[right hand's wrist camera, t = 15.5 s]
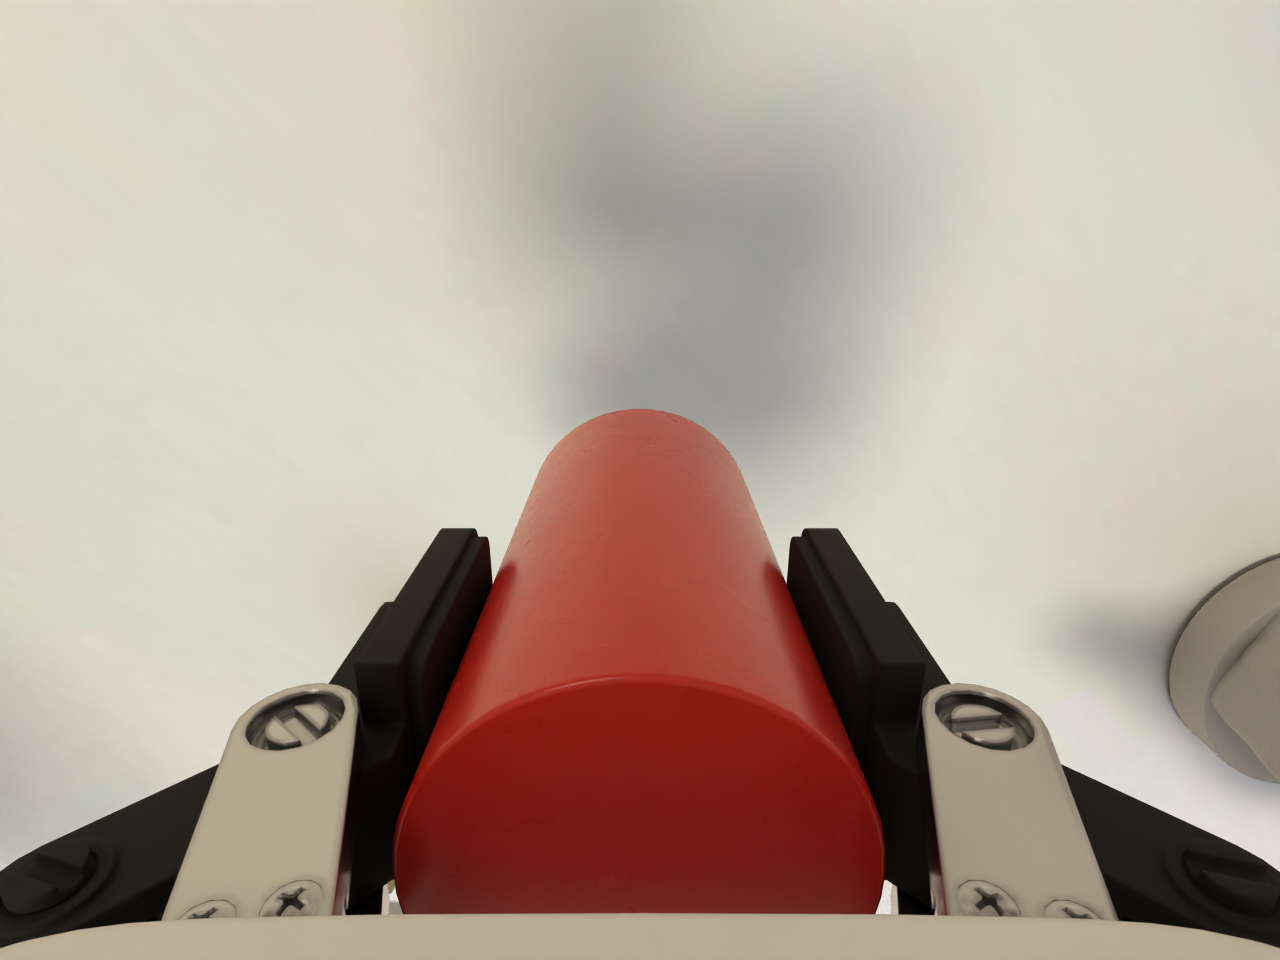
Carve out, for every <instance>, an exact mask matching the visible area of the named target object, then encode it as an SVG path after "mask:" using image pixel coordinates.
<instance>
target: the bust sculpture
mask: <svg viewBox="0 0 1280 960" xmlns="http://www.w3.org/2000/svg"><path fill="white" fill-rule="evenodd" d="M1169 688H1170V695H1171V699H1172V702H1173V705H1174V708H1175V710H1176V712H1177V714H1178V715H1179V717H1180V719H1181V720H1182V721H1183V723H1184V724H1185V725H1186V726H1187V727H1188V728H1189V729H1190V730H1191V731H1192V732H1193V733H1194V734H1195V735H1197V736H1198V737H1199V738H1200V739H1201V740H1202V741H1203V742H1204V743H1205V744H1206V745H1208V746H1209V747H1210V748H1211V749H1212V750H1213V751H1214V752H1215V753H1216V754H1217V755H1218V756H1220V757H1221V758H1222V759H1223V760H1224V761H1225V762H1226V763H1227V764H1229V765H1230V766H1231V767H1233V768H1234V769H1236V770H1237V771H1239V772H1241V773H1243V774H1245V775H1247V776H1250V777H1252V778H1255V779H1258V780H1262V781H1266V782H1271V783H1278V784H1280V558H1278V559H1275V560H1272V561H1269V562H1267V563H1264V564H1262V565H1260V566H1258V567H1256V568H1254V569H1252V570H1250V571H1248V572H1246V573H1244V574H1243V575H1241V576H1239V577H1238V578H1236V579H1235V580H1233V581H1232V582H1230V583H1229V584H1227V585H1226V586H1225V587H1223V588H1222V589H1221V590H1220V591H1218V592H1217V593H1216V594H1215V595H1214V596H1213V597H1212V598H1211V599H1209V600H1208V601H1207V602H1206V603H1205V604H1204V605H1203V607H1202V608H1201V609H1200V610H1199V611H1198V612H1197V613H1196V615H1195V616H1194V617H1193V618H1192V620H1191V621H1190V623H1189V624H1188V625H1187V627H1186V629H1185V630H1184V632H1183V634H1182V636H1181V637H1180V639H1179V642H1178V644H1177V646H1176V649H1175V651H1174V654H1173V657H1172V661H1171V666H1170V673H1169Z"/></svg>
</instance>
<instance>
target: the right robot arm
mask: <svg viewBox="0 0 1280 960" xmlns="http://www.w3.org/2000/svg"><path fill="white" fill-rule="evenodd" d="M492 585H493V583H492V571H491V558H490V546H489V540H488V538H487V537H478V534H477V531H476V529H474V528H442V529H441V530H440V531H439V533H438V534H437V536H436V537H435V539H434V540H433V542H432V544H431V545H430V547H429V548H428V550H427V551H426V553H425V554H424V556H423V557H422V559H421V561H420V562H419V564H418V565H417V567H416V568H415V570H414V571H413V573H412V574H411V576H410V577H409V579H408V581H407V582H406V584H405V585H404V587H403V588H402V590H401V591H400V593H399V594H398V596H397V597H396V599H395V601H394V602H385V603H384V604H383V605H382V606H381V607H380V608H379V610H378V611H377V613H376V614H375V616H374V617H373V619H372V620H371V622H370V623H369V625H368V626H367V628H366V629H365V631H364V632H363V634H362V635H361V637H360V638H359V640H358V641H357V642H356V644H355V645H354V647H353V648H352V650H351V651H350V653H349V654H348V656H347V657H346V659H345V660H344V662H343V663H342V665H341V666H340V668H339V669H338V671H337V672H336V674H335V675H334V677H333V678H332V680H331V681H330V682H329V684H325V683H319V684H306V685H301V686H297V687H293V688H289V689H285V690H283V691H280V692H278V693H275V694H273V695H270V696H268V697H266V698H265V699H263V700H261V701H260V702H258V703H256V704H255V705H253V706H252V707H251V708H249V709H248V710H247V711H246V712H245V713H244V714H243V715H242V716H241V717H240V718H239V719H238V721H237V722H236V724H235V726H234V727H233V729H232V731H231V734H230V736H229V739H228V742H227V744H226V747H225V750H224V753H223V755H222V758H221V761H220V763H219V764H218V765H216V766H214V767H211V768H209V769H207V770H205V771H203V772H201V773H198V774H196V775H194V776H192V777H190V778H188V779H185V780H183V781H181V782H179V783H177V784H175V785H172V786H170V787H168V788H166V789H164V790H162V791H160V792H157V793H155V794H153V795H151V796H149V797H147V798H144V799H142V800H140V801H138V802H136V803H134V804H131V805H129V806H127V807H125V808H123V809H121V810H118V811H116V812H114V813H112V814H110V815H108V816H106V817H103V818H101V819H99V820H97V821H95V822H93V823H90V824H88V825H86V826H84V827H82V828H80V829H77V830H75V831H73V832H71V833H69V834H67V835H64V836H62V837H60V838H58V839H56V840H54V841H51V842H49V843H47V844H45V845H43V846H41V847H39V848H37V849H35V850H34V851H32V852H30V853H28V854H26V855H24V856H23V857H21V858H19V859H17V860H16V861H14V862H13V863H11V864H10V865H9V866H7V867H6V868H5V869H3V870H2V871H1V872H0V960H1280V872H1279V871H1278V870H1276V869H1275V868H1273V867H1272V866H1271V865H1269V864H1268V863H1267V862H1265V861H1264V860H1262V859H1261V858H1259V857H1257V856H1255V855H1253V854H1251V853H1250V852H1248V851H1246V850H1244V849H1242V848H1240V847H1239V846H1237V845H1235V844H1232V843H1230V842H1228V841H1226V840H1224V839H1222V838H1219V837H1217V836H1215V835H1213V834H1211V833H1209V832H1206V831H1204V830H1202V829H1200V828H1198V827H1196V826H1193V825H1191V824H1189V823H1187V822H1185V821H1183V820H1181V819H1178V818H1176V817H1174V816H1172V815H1170V814H1168V813H1165V812H1163V811H1161V810H1159V809H1157V808H1155V807H1152V806H1150V805H1148V804H1146V803H1144V802H1142V801H1139V800H1137V799H1135V798H1133V797H1131V796H1129V795H1126V794H1124V793H1122V792H1120V791H1118V790H1116V789H1113V788H1111V787H1109V786H1107V785H1105V784H1103V783H1101V782H1098V781H1096V780H1094V779H1092V778H1090V777H1088V776H1085V775H1083V774H1081V773H1079V772H1077V771H1075V770H1072V769H1070V768H1068V767H1066V766H1064V765H1062V764H1061V763H1060V761H1059V758H1058V755H1057V753H1056V750H1055V747H1054V744H1053V742H1052V739H1051V736H1050V734H1049V731H1048V729H1047V727H1046V726H1045V724H1044V722H1043V721H1042V719H1041V718H1040V717H1039V716H1038V715H1037V714H1036V713H1035V712H1034V711H1033V710H1032V709H1031V708H1029V707H1028V706H1027V705H1025V704H1024V703H1022V702H1020V701H1019V700H1017V699H1015V698H1014V697H1012V696H1010V695H1007V694H1005V693H1002V692H1000V691H997V690H995V689H991V688H987V687H983V686H979V685H974V684H961V683H955V684H951V683H950V682H949V680H948V679H947V678H946V676H945V675H944V673H943V672H942V670H941V669H940V667H939V666H938V664H937V663H936V661H935V660H934V658H933V657H932V655H931V654H930V652H929V651H928V649H927V648H926V646H925V645H924V643H923V642H922V640H921V639H920V638H919V636H918V635H917V633H916V632H915V630H914V629H913V627H912V626H911V624H910V623H909V621H908V620H907V618H906V617H905V615H904V614H903V612H902V611H901V609H900V608H899V607H898V606H897V605H896V604H895V603H894V602H885V600H884V598H883V597H882V595H881V594H880V592H879V591H878V589H877V588H876V586H875V585H874V583H873V582H872V580H871V578H870V577H869V575H868V574H867V572H866V571H865V569H864V568H863V566H862V565H861V563H860V562H859V560H858V558H857V557H856V555H855V554H854V552H853V551H852V549H851V548H850V546H849V545H848V543H847V542H846V540H845V538H844V537H843V535H842V534H841V532H840V531H839V530H838V529H837V528H806V529H804V530H803V532H802V535H801V537H792V538H791V542H790V550H789V563H788V575H787V587H788V589H789V592H790V594H791V597H792V599H793V602H794V604H795V607H796V609H797V612H798V614H799V617H800V619H801V622H802V624H803V626H804V629H805V631H806V634H807V636H808V639H809V641H810V644H811V646H812V649H813V651H814V654H815V656H816V658H817V661H818V663H819V666H820V668H821V671H822V673H823V676H824V678H825V681H826V683H827V686H828V688H829V691H830V693H831V695H832V698H833V700H834V703H835V705H836V708H837V710H838V713H839V715H840V718H841V720H842V723H843V725H844V727H845V730H846V732H847V735H848V737H849V740H850V742H851V745H852V747H853V750H854V752H855V755H856V757H857V760H858V762H859V764H860V767H861V769H862V772H863V774H864V777H865V779H866V782H867V784H868V787H869V789H870V792H871V794H872V797H873V799H874V802H875V805H876V807H877V810H878V813H879V816H880V818H881V822H882V827H883V833H884V839H885V844H886V871H885V878H884V880H888V881H889V882H891V883H892V891H891V914H712V913H568V914H390V915H389V891H388V884H387V883H389V882H390V881H392V880H394V874H393V866H392V863H393V839H394V834H395V829H396V824H397V820H398V816H399V813H400V810H401V808H402V805H403V803H404V800H405V798H406V795H407V793H408V790H409V788H410V785H411V783H412V781H413V778H414V776H415V773H416V771H417V768H418V766H419V763H420V761H421V759H422V756H423V754H424V751H425V749H426V746H427V744H428V742H429V739H430V737H431V734H432V732H433V729H434V727H435V724H436V722H437V720H438V717H439V715H440V712H441V710H442V707H443V705H444V702H445V700H446V698H447V695H448V693H449V690H450V688H451V685H452V683H453V680H454V678H455V676H456V673H457V671H458V668H459V666H460V663H461V661H462V659H463V656H464V654H465V651H466V649H467V646H468V644H469V641H470V639H471V637H472V634H473V632H474V629H475V627H476V624H477V622H478V619H479V617H480V615H481V612H482V610H483V607H484V605H485V602H486V600H487V597H488V595H489V593H490V590H491V588H492Z"/></svg>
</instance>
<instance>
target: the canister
mask: <svg viewBox="0 0 1280 960" xmlns="http://www.w3.org/2000/svg"><path fill="white" fill-rule="evenodd" d="M392 866H393V874H394V881H395V888H396V894H397V897H398V900H399V903H400V906H401V909H402V912H403V914H568V913H712V914H875V913H876V911H877V908H878V905H879V902H880V899H881V895H882V889H883V884H884V878H885V871H886V844H885V839H884V833H883V827H882V822H881V818H880V816H879V813H878V810H877V807H876V805H875V802H874V799H873V797H872V794H871V792H870V789H869V787H868V784H867V782H866V779H865V777H864V774H863V772H862V769H861V767H860V764H859V762H858V760H857V757H856V755H855V752H854V750H853V747H852V745H851V742H850V740H849V737H848V735H847V732H846V730H845V727H844V725H843V723H842V720H841V718H840V715H839V713H838V710H837V708H836V705H835V703H834V700H833V698H832V695H831V693H830V691H829V688H828V686H827V683H826V681H825V678H824V676H823V673H822V671H821V668H820V666H819V663H818V661H817V658H816V656H815V654H814V651H813V649H812V646H811V644H810V641H809V639H808V636H807V634H806V631H805V629H804V626H803V624H802V622H801V619H800V617H799V614H798V612H797V609H796V607H795V604H794V602H793V599H792V597H791V594H790V592H789V589H788V587H787V585H786V582H785V580H784V577H783V575H782V572H781V570H780V567H779V565H778V562H777V560H776V557H775V555H774V553H773V550H772V548H771V545H770V543H769V540H768V538H767V535H766V533H765V530H764V528H763V525H762V523H761V520H760V518H759V516H758V513H757V511H756V508H755V506H754V503H753V501H752V498H751V496H750V493H749V491H748V488H747V486H746V484H745V481H744V479H743V476H742V474H741V471H740V469H739V467H738V465H737V464H736V462H735V460H734V458H733V457H732V456H731V454H730V453H729V451H728V450H727V449H726V447H725V446H724V445H723V444H722V443H721V442H720V441H719V440H718V439H717V438H716V437H715V436H713V435H712V434H711V433H709V432H708V431H707V430H706V429H704V428H703V427H701V426H699V425H698V424H696V423H694V422H692V421H690V420H688V419H686V418H683V417H681V416H678V415H675V414H671V413H668V412H664V411H658V410H650V409H630V410H622V411H616V412H612V413H608V414H604V415H601V416H599V417H596V418H594V419H591V420H589V421H587V422H586V423H584V424H582V425H580V426H578V427H577V428H575V429H574V430H573V431H571V432H570V433H569V434H567V435H566V436H565V437H564V438H563V439H562V440H561V441H560V442H559V443H558V444H557V445H556V446H555V447H554V448H553V450H552V451H551V452H550V454H549V455H548V456H547V458H546V460H545V461H544V463H543V465H542V466H541V468H540V471H539V473H538V475H537V478H536V480H535V483H534V485H533V488H532V490H531V493H530V495H529V497H528V500H527V502H526V505H525V507H524V510H523V512H522V514H521V517H520V519H519V522H518V524H517V527H516V529H515V532H514V534H513V536H512V539H511V541H510V544H509V546H508V549H507V551H506V554H505V556H504V558H503V561H502V563H501V566H500V568H499V571H498V573H497V576H496V578H495V580H494V583H493V585H492V588H491V590H490V593H489V595H488V597H487V600H486V602H485V605H484V607H483V610H482V612H481V615H480V617H479V619H478V622H477V624H476V627H475V629H474V632H473V634H472V637H471V639H470V641H469V644H468V646H467V649H466V651H465V654H464V656H463V659H462V661H461V663H460V666H459V668H458V671H457V673H456V676H455V678H454V680H453V683H452V685H451V688H450V690H449V693H448V695H447V698H446V700H445V702H444V705H443V707H442V710H441V712H440V715H439V717H438V720H437V722H436V724H435V727H434V729H433V732H432V734H431V737H430V739H429V742H428V744H427V746H426V749H425V751H424V754H423V756H422V759H421V761H420V763H419V766H418V768H417V771H416V773H415V776H414V778H413V781H412V783H411V785H410V788H409V790H408V793H407V795H406V798H405V800H404V803H403V805H402V808H401V810H400V813H399V816H398V820H397V824H396V829H395V834H394V839H393V863H392Z"/></svg>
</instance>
